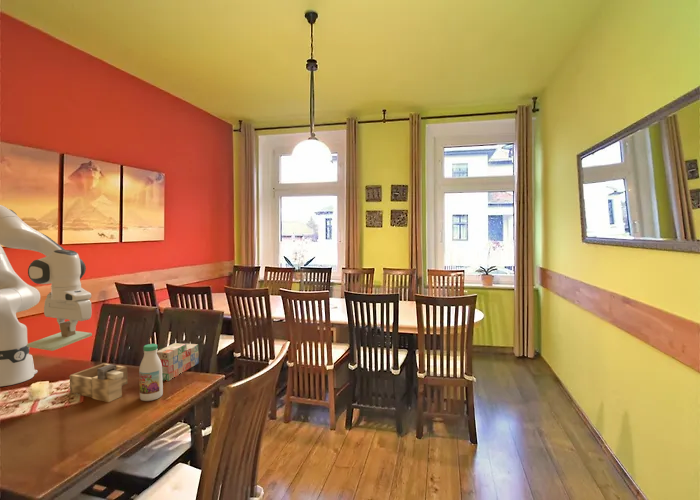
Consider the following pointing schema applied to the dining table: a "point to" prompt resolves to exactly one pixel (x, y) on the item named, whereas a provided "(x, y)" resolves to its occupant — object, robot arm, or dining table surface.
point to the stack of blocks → (177, 359)
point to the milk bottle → (150, 374)
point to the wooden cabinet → (98, 382)
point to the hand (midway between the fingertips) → (67, 330)
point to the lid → (59, 338)
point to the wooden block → (113, 374)
